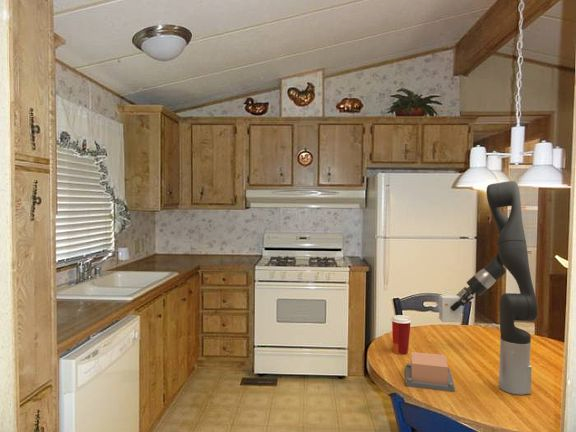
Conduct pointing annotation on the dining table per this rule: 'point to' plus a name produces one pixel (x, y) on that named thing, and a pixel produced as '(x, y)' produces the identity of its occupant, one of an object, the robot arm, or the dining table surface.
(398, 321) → the coffee cup
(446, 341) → the dining table surface
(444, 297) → the small box
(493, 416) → the dining table surface
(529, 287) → the robot arm
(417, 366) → the tower base
